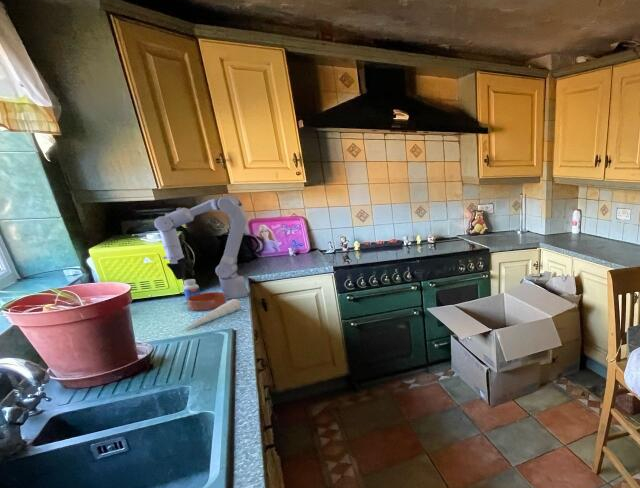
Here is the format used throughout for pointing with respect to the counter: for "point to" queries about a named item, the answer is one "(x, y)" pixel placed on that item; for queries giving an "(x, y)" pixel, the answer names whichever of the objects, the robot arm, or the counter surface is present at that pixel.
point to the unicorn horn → (218, 312)
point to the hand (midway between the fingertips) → (181, 277)
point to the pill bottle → (191, 288)
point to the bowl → (206, 301)
